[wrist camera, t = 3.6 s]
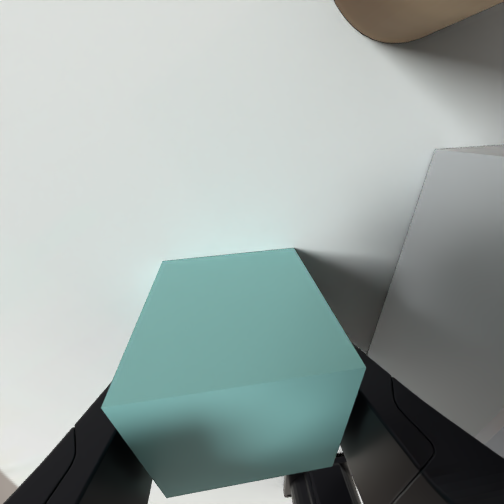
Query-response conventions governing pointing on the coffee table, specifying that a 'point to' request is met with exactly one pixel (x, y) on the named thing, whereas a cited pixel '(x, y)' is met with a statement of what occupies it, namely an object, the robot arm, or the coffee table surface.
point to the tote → (452, 295)
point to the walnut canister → (407, 16)
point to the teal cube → (234, 374)
